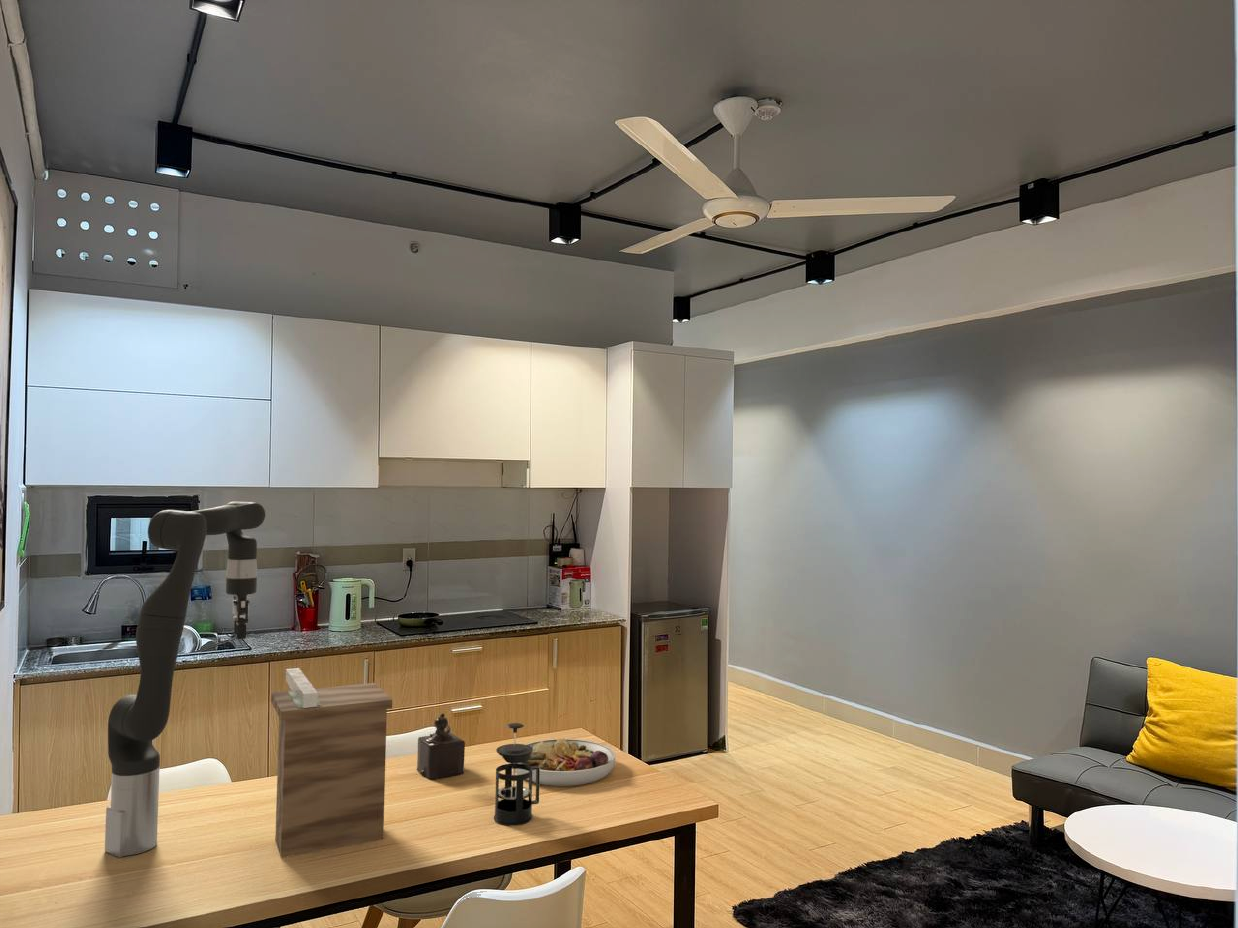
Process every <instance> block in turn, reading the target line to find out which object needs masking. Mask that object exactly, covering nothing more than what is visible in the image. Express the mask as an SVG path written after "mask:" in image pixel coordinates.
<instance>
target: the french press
mask: <svg viewBox="0 0 1238 928" xmlns="http://www.w3.org/2000/svg"><path fill="white" fill-rule="evenodd" d="M523 727H525V725H524V724H523V723H519V722H512V723H509V724H507V725H506V728H509V729H513V730H512V731H513V733H514V735H513V739H514V740H513V743H509V744H504V745H500V746H498V747H497V748H496V753H497V754H498V755H499V756H501V758H503V760H504V761H505V762H506V763H505V764H500V765H499V766H497V767H496V768H495V796H494V797H495V802H494V803H495V806H494V815H493V820H494V822H495V823H497V824H499V825H502V826H508V827H515V826H521V825H525V824H526V825H527V824H528V823H530V822H531V821H532V820H533V814H532V811H533V810H532V809H533V808H532V806H533V805H538V804H539V802H540V784H539V775H540V769H539V768H538V767H537V766H533V767H531V766H529V765H526V764H520V763H522V762H526V761H528V760H530V759H531V752H532V751H533V748H532V747H531V746H528V745H525V744H524V743H517V741H516V740H517V739H516V738H517V737H516V736H517V732H518V729H522V728H523ZM515 769H524V770H528V771H529V772H528V773H526V774H521V775H519V774H516V771H515ZM532 770H536V783H535V799H534V800H532V799H533V798H532V797H533V794H532V792H533V790H532V789H533V782H532ZM502 771H504V773H500V772H502ZM528 778H529V780H528V787H526V786H524V781H525V780H526V779H528ZM499 780H502V781H504V787H501V788H499V787H500V786H499V785H500V783H499V782H500V781H499ZM512 783H513V784H512ZM515 783H516V784H515ZM527 798H528V799H527ZM499 799H501V800H499Z"/></svg>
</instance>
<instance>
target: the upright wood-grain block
mask: <svg viewBox="0 0 1238 928" xmlns="http://www.w3.org/2000/svg"><path fill="white" fill-rule="evenodd" d="M315 690H316V691H317V692H318V704H317V707H308V708H303V707H302V706H301V704H300V702H299V701H298V699H297V698H296V696H295V695H294V693H293V691H292V690H291V689H289V690H286V691H275V692H271V698H270V702H271V704H272V706H273V709H274V710H275V712H276V714H277V716H278V739H277V741H278V742H277V744H278V745H277V747H278V748H277V773H276V774H277V777H276V808H275V809H276V810H275V811H276V812H275V840H274V841H275V843H276V846H277V849H278V852H279V856H280V858H281V859H282V857H283V858H288V857H287V856H289V857H292V856H293V855H294V856H298V855H303V854H310V853H315V852H320V851H325V850H332V849H337V848H341V847H347V846H354V845H358V844H363V843H369V842H374V841H380V840H384V826H385V825H384V824H385V820H384V819H385V791H386V788H385V785H386V784H385V783H386V756H387V754H386V753H387V752H386V751H387V750H386V748H387V747H386V746H387V745H386V743H387V717H388V716H387V714H388V712H387V711H388V709H389V710H390V709H392V708H393V699H392V697H390V696H389V695H388V694H387V693H386V692H385V691H384V690H383V689H382V688H381V687H380V686H378V685H377V683H376V682H371V683H363V684H361V683H359V684H350V685H339V686H338V685H337V686H328V687H318V688H315Z"/></svg>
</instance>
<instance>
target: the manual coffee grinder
mask: <svg viewBox="0 0 1238 928" xmlns="http://www.w3.org/2000/svg"><path fill="white" fill-rule="evenodd" d="M433 723H434V728H435V729H436V730H435V731H434V733H432V734H431V733H429V735H425V736H418V738H417V759H416V760H417V761H416V762H417V765H416V771H417V772H419V774H420V775H422V776H423V777H425V778H426V779H429V780H431V781H432V780H440V779H446V778H451V777H457V776H461V775H463V774H465V773H464V769H465V768H464V767H465V752H466V751H465V750H466V749H465V748H466V747H465V746H466V741H464V739H462V738H460V737H458V736H457V735H455V734H454V733H452V732H451V727H450V725H449V720H448V718H447V717H445V713H443V712H442V713H441V714H439V717H437V718H435V719H434V722H433ZM445 729H446V730H445Z"/></svg>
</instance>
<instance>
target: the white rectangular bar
mask: <svg viewBox="0 0 1238 928" xmlns="http://www.w3.org/2000/svg"><path fill="white" fill-rule="evenodd" d="M285 682H286V684H287V685H288V686H289V688H290V690H292V691H293V693H294V695H295V696H296V698H297V699H298V701H299V702H300V704H301V706H302V707H303V708H308V707H317V704H318V692H317V691H316V690H315V689H316V688H315V687H314V685H312V683H311V681H310V680H309V679H308V678H307V676H306V675H305V674H304V672H303V671H302V669H300V667H295V668H286V669H285Z"/></svg>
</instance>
